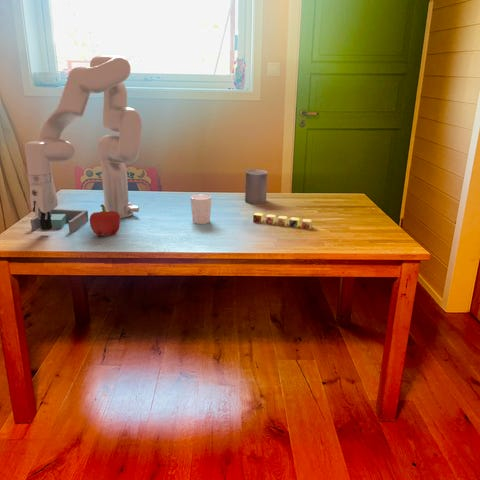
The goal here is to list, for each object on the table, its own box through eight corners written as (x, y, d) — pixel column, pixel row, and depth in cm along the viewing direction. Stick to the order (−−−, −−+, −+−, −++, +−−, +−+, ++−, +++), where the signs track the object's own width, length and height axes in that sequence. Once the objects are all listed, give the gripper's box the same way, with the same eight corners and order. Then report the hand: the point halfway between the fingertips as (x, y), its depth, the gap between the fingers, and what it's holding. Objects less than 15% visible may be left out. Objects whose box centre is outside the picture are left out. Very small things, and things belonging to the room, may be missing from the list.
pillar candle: (243, 198, 219) (244, 166, 214) (264, 198, 220) (265, 166, 215) (246, 204, 210) (247, 171, 205) (268, 204, 211) (269, 171, 206)
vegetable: (89, 231, 173) (86, 204, 170) (117, 227, 177) (115, 201, 174) (93, 240, 164) (90, 213, 160) (123, 237, 168) (121, 210, 164)
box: (88, 220, 184) (87, 210, 183) (72, 232, 171) (71, 221, 170) (50, 218, 186) (49, 208, 184) (31, 230, 173) (30, 219, 171)
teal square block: (66, 222, 182) (65, 214, 181) (62, 228, 176) (61, 219, 175) (48, 223, 182) (46, 214, 180) (42, 229, 175) (41, 220, 174)
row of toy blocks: (256, 211, 203) (256, 203, 202) (331, 220, 193) (331, 212, 191) (229, 234, 174) (229, 225, 173) (315, 246, 164) (315, 237, 163)
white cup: (215, 221, 187) (215, 197, 183) (200, 226, 181) (200, 200, 178) (201, 217, 192) (201, 193, 188) (187, 221, 186) (186, 196, 183)
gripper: (39, 183, 155) (46, 236, 161) (61, 174, 169) (66, 223, 175) (18, 182, 155) (25, 235, 162) (41, 173, 169) (47, 222, 176)
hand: (46, 229), depth 168 cm, fingers closed
